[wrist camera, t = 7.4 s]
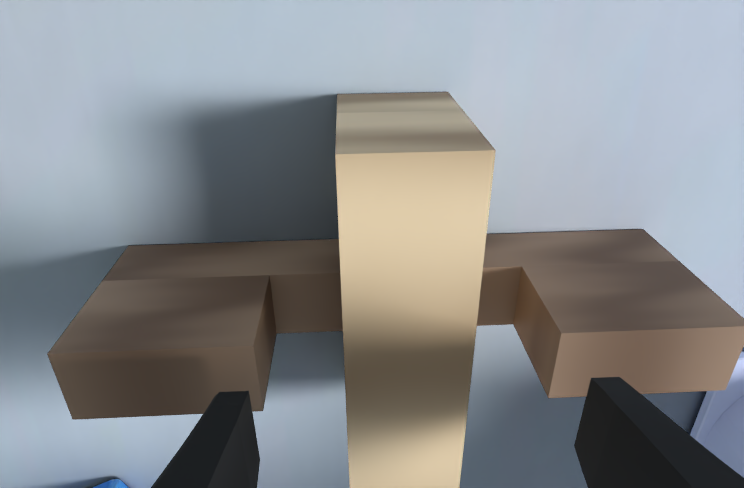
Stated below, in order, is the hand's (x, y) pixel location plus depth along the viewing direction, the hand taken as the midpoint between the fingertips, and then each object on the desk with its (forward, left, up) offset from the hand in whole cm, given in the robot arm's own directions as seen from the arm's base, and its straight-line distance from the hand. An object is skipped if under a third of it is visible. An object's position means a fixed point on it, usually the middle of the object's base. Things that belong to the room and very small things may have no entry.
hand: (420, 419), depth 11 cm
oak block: (0, 0, -6) cm, 6 cm away
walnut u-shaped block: (0, 0, -6) cm, 6 cm away
